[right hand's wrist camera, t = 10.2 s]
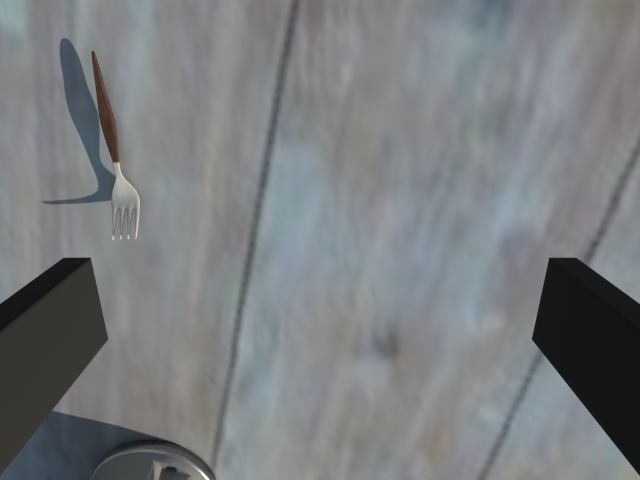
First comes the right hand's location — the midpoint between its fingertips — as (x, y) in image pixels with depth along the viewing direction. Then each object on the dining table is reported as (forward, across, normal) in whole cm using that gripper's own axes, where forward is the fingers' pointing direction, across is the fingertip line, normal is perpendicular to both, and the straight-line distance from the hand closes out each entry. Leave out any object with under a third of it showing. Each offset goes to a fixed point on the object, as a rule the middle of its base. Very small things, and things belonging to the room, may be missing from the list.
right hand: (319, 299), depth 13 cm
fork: (+28, +18, 0) cm, 33 cm away
